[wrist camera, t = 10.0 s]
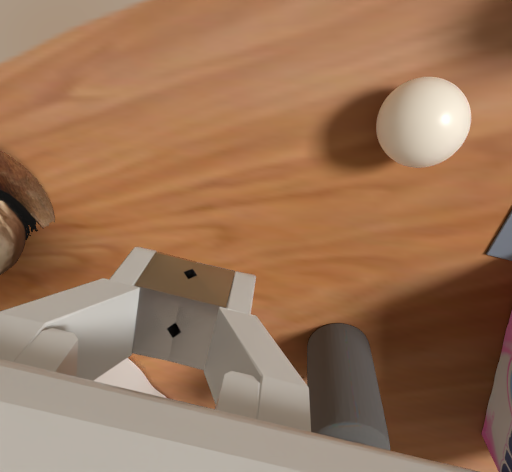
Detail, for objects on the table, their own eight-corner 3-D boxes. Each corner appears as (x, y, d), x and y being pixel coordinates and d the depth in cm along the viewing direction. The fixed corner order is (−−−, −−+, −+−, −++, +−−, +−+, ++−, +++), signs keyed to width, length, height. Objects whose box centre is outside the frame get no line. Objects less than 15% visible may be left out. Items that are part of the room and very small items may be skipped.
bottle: (309, 369, 39) (312, 541, 26) (304, 323, 37) (304, 488, 23) (370, 367, 38) (405, 545, 25) (368, 320, 36) (406, 490, 22)
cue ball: (358, 160, 24) (385, 170, 29) (456, 162, 21) (469, 174, 26) (370, 69, 24) (395, 94, 28) (471, 57, 21) (481, 88, 25)
